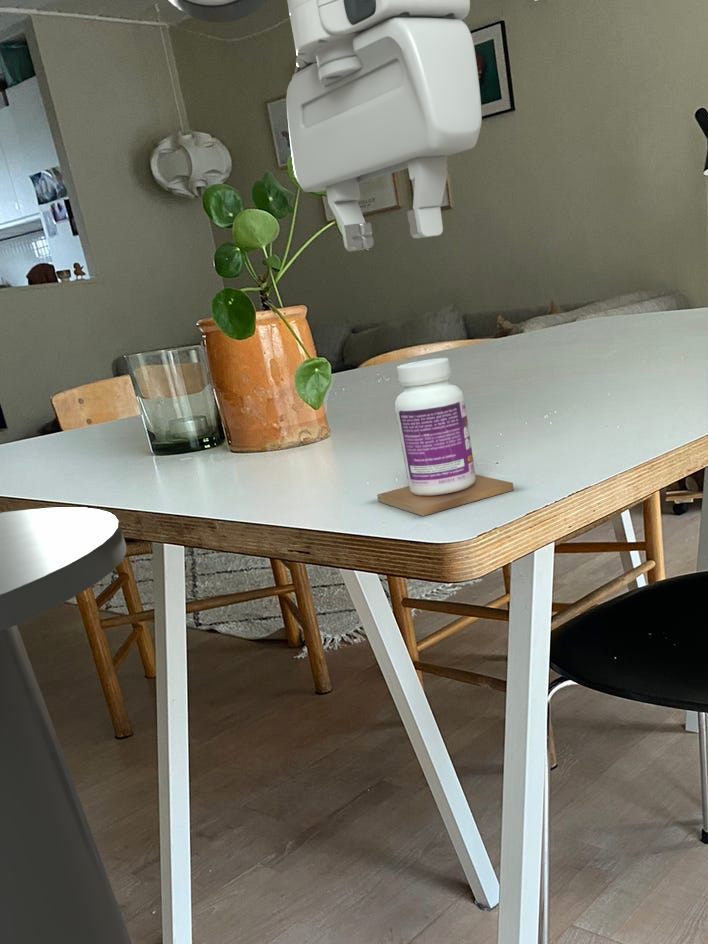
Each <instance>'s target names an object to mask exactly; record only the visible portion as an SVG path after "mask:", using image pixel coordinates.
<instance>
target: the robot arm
mask: <svg viewBox="0 0 708 944" xmlns="http://www.w3.org/2000/svg"><path fill="white" fill-rule="evenodd" d="M168 1H169V2H170V3H171V4H172V5H173V6H174V7H176V8H177V9H178V10H179V11H181V12H183V13H185V14H186V15H188V16H190V17H192V18H194V19H197V20H200V21H203V22H208V23H217V24H223V23H231V22H237V21H240V20H243V19H245V18H246V17H248V16H251V15H252V14H253V13H255V12H257V11H258V10H259V9H260V8H261V7H262V6H263V5H264V4H265V3H266V2H267V0H168ZM286 1H287V8H288V14H289V19H290V20H289V21H290V26H291V31H292V36H293V43H294V49H295V52H296V59H295V64H296V65H295V68H294V74H292V77H291V81H289V83H288V86H287V90H286V99H285V100H286V101H285V102H286V117H287V127H288V128H287V129H288V135H289V144H290V145H289V146H290V153H291V158H292V159H291V160H292V166H293V171H294V172H293V173H294V176H295V178H296V181H297V183H298V185H299V186H300V188H301V190H302V191H303V192H305V193H312V192H313V193H315V192H325V193H326V199H327V204H328V206H329V208H330V209H331V212H332V214H333V215H334V217H335V219H336V222H337V223H338V225H339V227H340V229H341V235H342V240H343V247H344V248H345V250H346V251H347V252H357V251H365V250H369V249H372V248H373V246H374V243H375V241H374V236H373V228H372V223H371V222H366V220H365V218H364V215H363V212H362V209H361V207H360V204H359V200H361V199H362V197H361V191H360V184H361V183H365V182H367V181H370V180H371V181H372V180H374V179H377V178H380V177H383V176H387V175H390V174H392V173H397V172H400V171H404V170H406V169H407V171H408V176H409V177H408V178H409V180H410V181H414V184H413V185H414V187H413V199H412V201H413V202H412V209H410V210H407V211H406V213H407V214H406V215H407V222H408V224H409V234H410V236H411V237H412V239H424V238H434V237H437V236H441V235H442V234H443V231H444V226H443V225H444V224H443V217H442V210H441V206H442V204H443V199H444V194H445V190H446V185H447V179H448V168H447V161H446V157H448V156H451V155H455V154H458V153H461V152H465V151H468V150H472V149H473V148H475V146H476V145H477V143H478V139H479V136H480V132H481V128H482V124H483V122H482V121H483V113H482V100H481V89H480V80H479V79H480V77H479V71H478V65H477V57H476V50H475V45H474V40H473V36H472V33H471V31H470V29H469V27H468V25H467V24H466V23H465V22H464V21H463V20H464V19H465V18H466V17H468V15H469V14H470V10H471V0H286Z"/></svg>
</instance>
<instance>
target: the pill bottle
mask: <svg viewBox="0 0 708 944" xmlns="http://www.w3.org/2000/svg"><path fill="white" fill-rule="evenodd" d="M396 372H397V378H398V383H399V384H400V387H403V391H402V392H401V393H400V394H399V395H398V396H397V397H396V399H395V402H394V412H395V416H396V423H397V428H398V433H399V439H400V444H401V449H402V450H401V451H402V455H403V460H404V467H405V472H406V477H407V481H408V486H409V487H410V491H411V492H412V493H414V494H415V495H421V496H434V495H442V494H448V493H452V492H457V491H461V490H464V489H467V488H469V487H470V486H472V485H473V484H474V482H475V479H476V477H475V475H476V470H475V463H474V457H473V448H472V441H471V436H470V435H471V434H470V428H469V422H468V414H467V409H466V408H467V407H466V401H465V395H464V393H463V391H462V390H461V388H459V387H458V386H457V385H455V384H452V383H451V382H450V379H451V378H452V369H451V363H450V360H449V358H447V357H439V358H430V359H429V358H428V359H423V360H417V361H412V362H409V363H404V364H400V365H398V366H397V367H396Z"/></svg>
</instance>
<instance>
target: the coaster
mask: <svg viewBox="0 0 708 944" xmlns="http://www.w3.org/2000/svg"><path fill="white" fill-rule="evenodd" d="M475 477H476V479H475V482H474V484H473V485H472V486H470V487H469V488H467V489H464V490H461V491H457V492H452V493H448V494H442V495H434V496H421V495H415V494H414V493H412V492H411V491H410V487H409V485H407V486H404V487H400V488H396V489H392V490H389V491H385V492H382V493H378V494H377V495H376V496H377V501H378V502H379V503H383V504H385V505H387V506H388V505H389V506H390V507H394V508H397V509H400V510H403V511H405V512H409V513H413V514H415V515H418V516H422V517H425V516H429V515H432V514H435V513H439V512H442V511H447V510H450V509H453V508H457V507H461V506H463V505H467V504H470V503H473V502H477V501H480V500H484V499H489V498H491V497H494V496H495V497H496V496H498V495H501V494H505V493H508V492H512V491H514V483H513V482H511V481H506V480H501V479H497V478H493V477H490V476H489V477H488V476H484V475H479V474H475Z"/></svg>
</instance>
